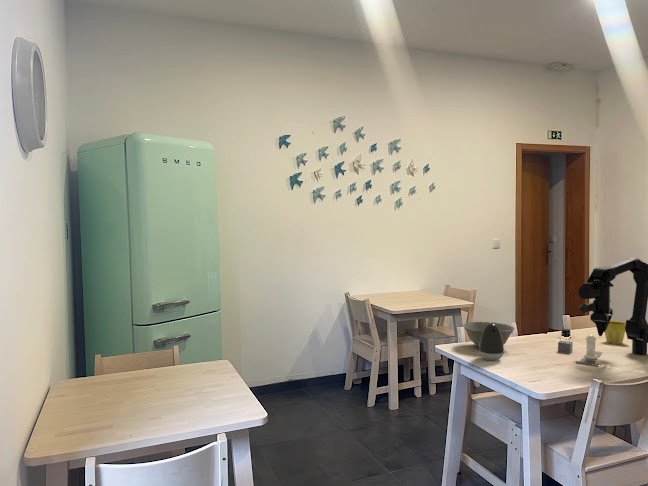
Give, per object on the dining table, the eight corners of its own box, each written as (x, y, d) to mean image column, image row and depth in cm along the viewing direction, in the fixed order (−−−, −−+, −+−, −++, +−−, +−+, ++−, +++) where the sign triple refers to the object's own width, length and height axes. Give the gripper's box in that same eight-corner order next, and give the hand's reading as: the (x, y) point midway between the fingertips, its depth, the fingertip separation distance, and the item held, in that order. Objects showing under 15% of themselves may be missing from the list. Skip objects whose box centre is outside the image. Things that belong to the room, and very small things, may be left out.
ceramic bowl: (454, 347, 233) (454, 326, 232) (476, 339, 250) (477, 319, 249) (500, 356, 218) (501, 333, 217) (521, 347, 234) (521, 326, 234)
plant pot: (597, 340, 248) (597, 321, 248) (613, 339, 251) (613, 320, 251) (615, 345, 238) (615, 325, 238) (631, 344, 242) (632, 324, 241)
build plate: (568, 341, 249) (568, 332, 249) (553, 339, 254) (553, 330, 254) (577, 337, 258) (577, 328, 258) (562, 335, 263) (563, 326, 263)
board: (586, 350, 228) (586, 349, 228) (606, 353, 223) (606, 352, 223) (575, 363, 207) (575, 361, 207) (597, 366, 202) (597, 364, 202)
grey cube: (560, 351, 228) (560, 340, 227) (572, 352, 225) (572, 341, 224) (557, 353, 223) (558, 342, 223) (570, 355, 221) (570, 343, 220)
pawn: (585, 356, 216) (585, 333, 216) (597, 357, 213) (598, 334, 213) (583, 358, 212) (584, 335, 212) (596, 360, 209) (596, 336, 209)
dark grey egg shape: (482, 362, 208) (482, 325, 207) (475, 355, 218) (476, 321, 218) (507, 362, 207) (507, 326, 207) (499, 356, 218) (500, 321, 217)
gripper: (584, 293, 225) (584, 327, 226) (577, 299, 210) (576, 335, 211) (613, 295, 218) (613, 330, 219) (607, 301, 203) (607, 339, 204)
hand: (601, 333), depth 213 cm, fingers open, 9 cm apart
